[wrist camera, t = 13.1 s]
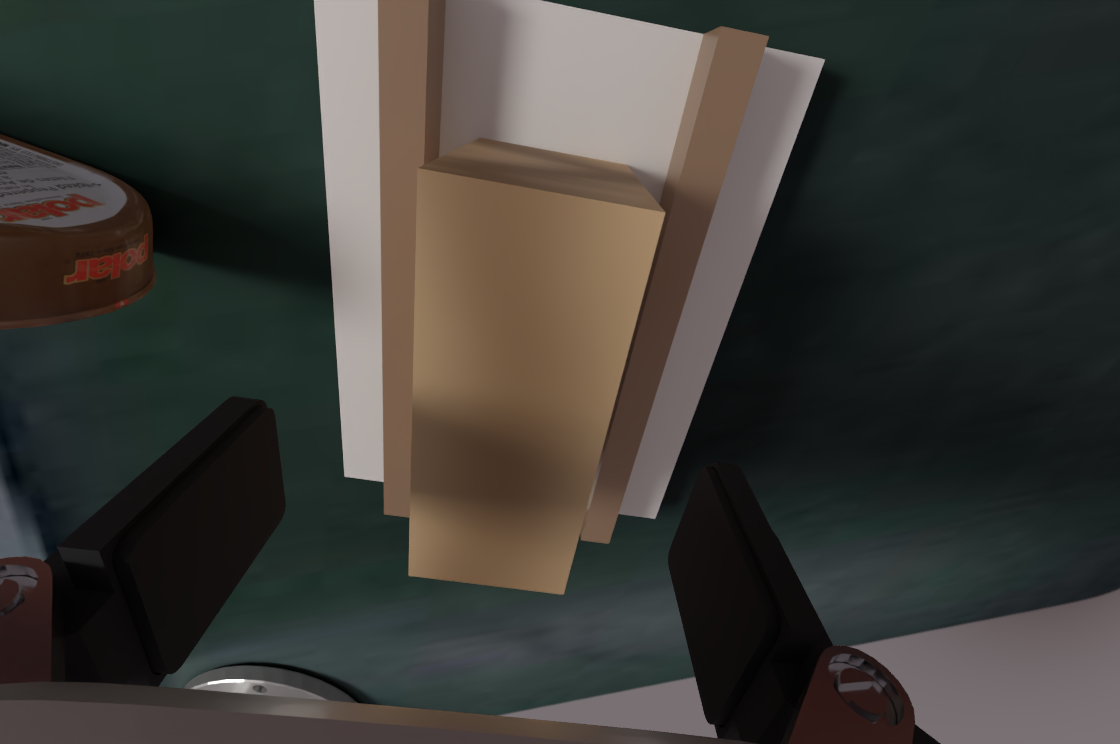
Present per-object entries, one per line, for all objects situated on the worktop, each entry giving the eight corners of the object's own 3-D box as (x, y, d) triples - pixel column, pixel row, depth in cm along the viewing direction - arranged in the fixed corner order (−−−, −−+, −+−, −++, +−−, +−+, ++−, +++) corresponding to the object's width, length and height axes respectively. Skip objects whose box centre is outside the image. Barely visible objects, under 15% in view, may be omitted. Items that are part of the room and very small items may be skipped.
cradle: (651, 500, 23) (661, 550, 21) (354, 458, 22) (326, 506, 20) (806, 61, 15) (858, 55, 12) (330, -37, 14) (274, -68, 11)
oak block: (626, 164, 15) (665, 212, 9) (565, 445, 20) (563, 594, 14) (479, 137, 15) (417, 168, 9) (457, 429, 20) (408, 575, 14)
